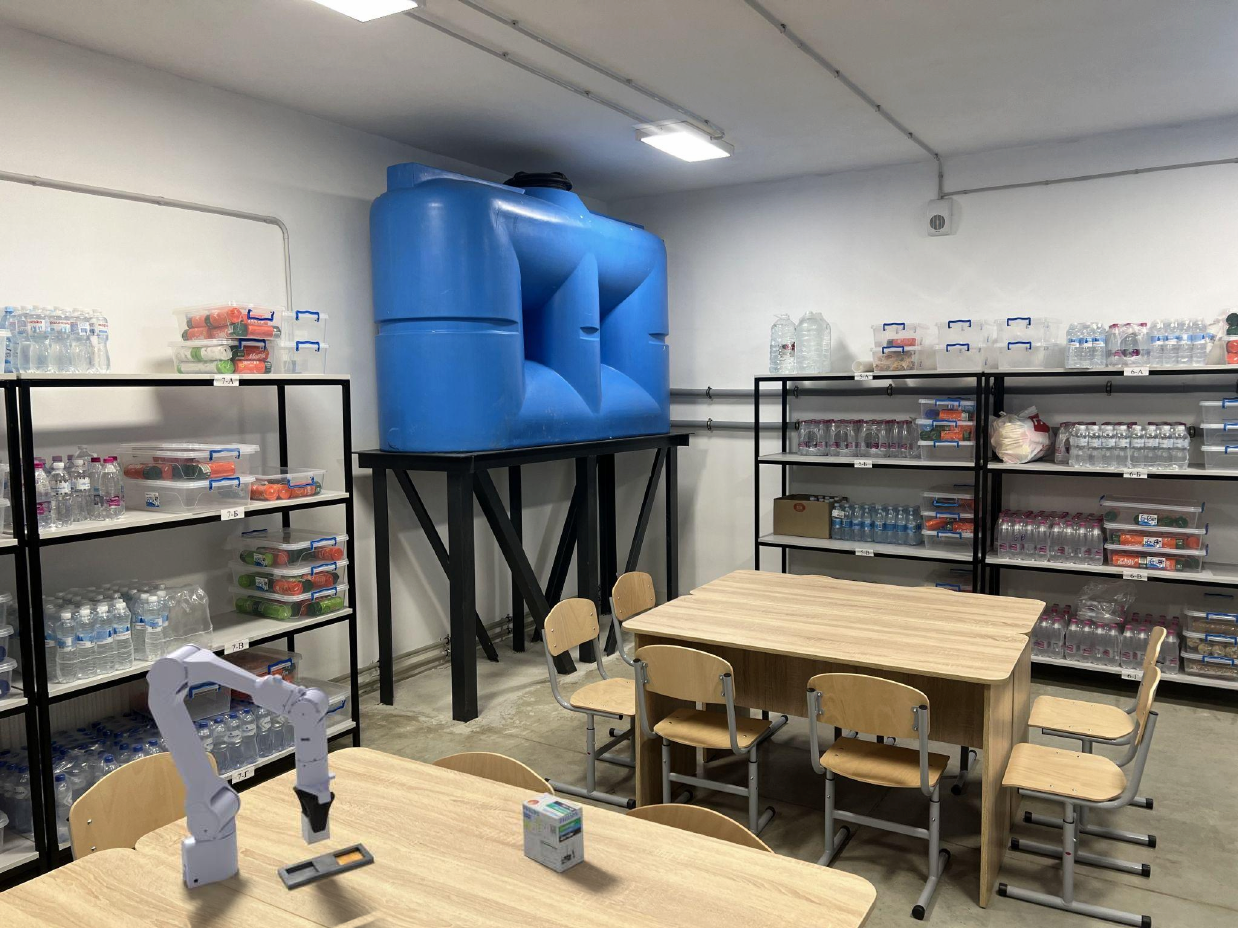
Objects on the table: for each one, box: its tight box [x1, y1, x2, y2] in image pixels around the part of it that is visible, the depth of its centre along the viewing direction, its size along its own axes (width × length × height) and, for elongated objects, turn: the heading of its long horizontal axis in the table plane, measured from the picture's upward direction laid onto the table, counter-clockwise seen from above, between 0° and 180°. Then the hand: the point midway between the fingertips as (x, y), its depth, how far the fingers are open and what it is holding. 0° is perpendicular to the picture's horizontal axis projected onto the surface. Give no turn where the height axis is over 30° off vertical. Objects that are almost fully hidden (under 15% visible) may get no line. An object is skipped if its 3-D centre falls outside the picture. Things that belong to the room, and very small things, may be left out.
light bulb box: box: [521, 792, 585, 874], centre depth 174 cm, size 11×7×11 cm, turn 47°
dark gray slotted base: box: [277, 842, 375, 890], centre depth 171 cm, size 16×7×2 cm, turn 126°
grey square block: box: [300, 810, 331, 846], centre depth 169 cm, size 4×4×5 cm
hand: (315, 826), depth 169 cm, fingers closed on grey square block, 4 cm apart
